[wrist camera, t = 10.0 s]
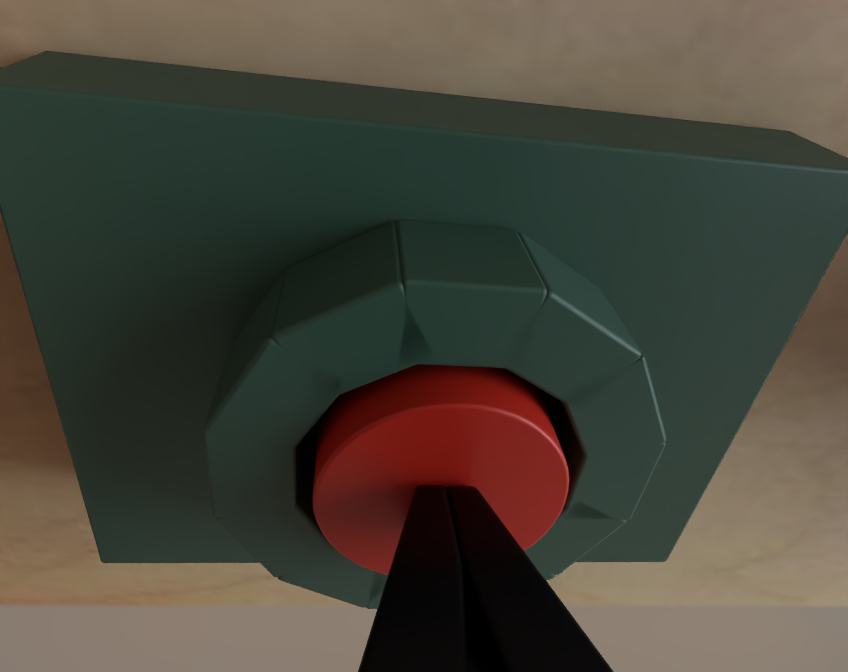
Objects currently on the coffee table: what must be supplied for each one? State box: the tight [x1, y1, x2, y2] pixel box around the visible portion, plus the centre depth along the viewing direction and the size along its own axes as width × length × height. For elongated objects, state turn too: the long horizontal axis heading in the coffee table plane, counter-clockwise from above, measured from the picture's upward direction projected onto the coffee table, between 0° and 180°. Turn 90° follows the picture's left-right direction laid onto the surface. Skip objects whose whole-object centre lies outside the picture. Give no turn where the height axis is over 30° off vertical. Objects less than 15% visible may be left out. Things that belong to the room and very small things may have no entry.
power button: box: [312, 364, 569, 575], centre depth 9 cm, size 4×4×2 cm
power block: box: [0, 51, 848, 609], centre depth 10 cm, size 12×9×4 cm
